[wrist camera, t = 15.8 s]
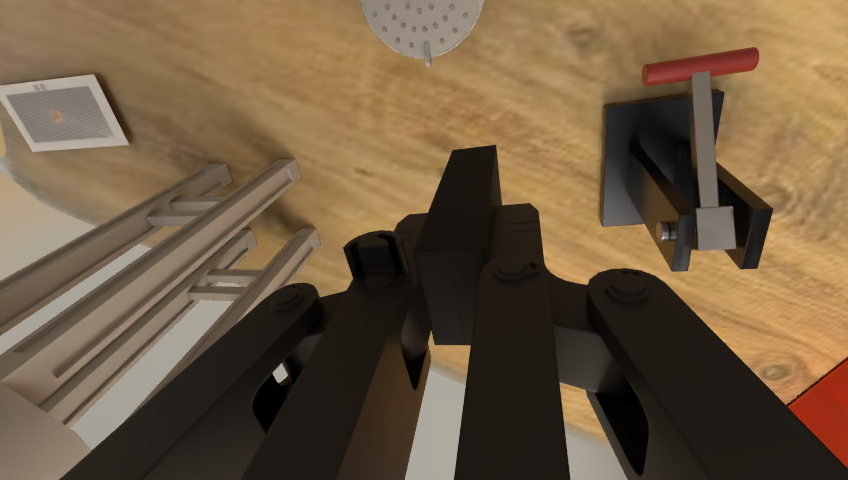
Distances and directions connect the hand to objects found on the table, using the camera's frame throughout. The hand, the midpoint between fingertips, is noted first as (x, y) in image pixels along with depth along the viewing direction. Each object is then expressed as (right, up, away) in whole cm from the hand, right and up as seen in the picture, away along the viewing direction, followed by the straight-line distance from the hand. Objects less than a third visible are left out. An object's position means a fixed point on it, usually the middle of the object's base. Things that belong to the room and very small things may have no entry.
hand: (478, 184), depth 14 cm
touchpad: (-44, +13, +34) cm, 57 cm away
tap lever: (+17, +4, +14) cm, 23 cm away
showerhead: (-1, +19, +20) cm, 28 cm away
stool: (-21, +2, +35) cm, 41 cm away
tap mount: (+20, +6, +24) cm, 31 cm away
